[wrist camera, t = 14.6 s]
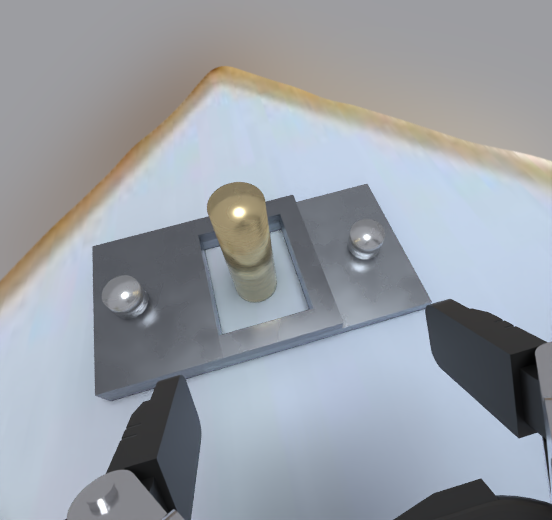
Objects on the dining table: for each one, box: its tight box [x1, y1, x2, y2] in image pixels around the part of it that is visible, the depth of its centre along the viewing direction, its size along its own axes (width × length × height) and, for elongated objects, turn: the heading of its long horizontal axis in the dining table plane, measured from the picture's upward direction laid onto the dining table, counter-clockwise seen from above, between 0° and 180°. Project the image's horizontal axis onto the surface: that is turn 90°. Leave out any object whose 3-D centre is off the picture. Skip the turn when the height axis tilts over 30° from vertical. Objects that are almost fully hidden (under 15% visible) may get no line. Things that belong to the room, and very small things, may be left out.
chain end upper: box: [93, 195, 344, 401], centre depth 30 cm, size 18×13×4 cm
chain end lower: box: [202, 184, 432, 373], centre depth 31 cm, size 18×13×3 cm
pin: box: [207, 182, 277, 302], centre depth 27 cm, size 4×4×11 cm
